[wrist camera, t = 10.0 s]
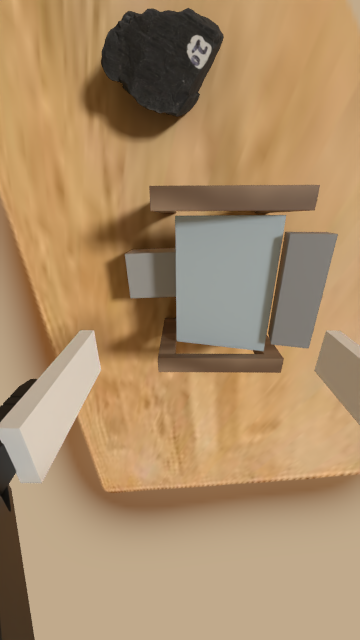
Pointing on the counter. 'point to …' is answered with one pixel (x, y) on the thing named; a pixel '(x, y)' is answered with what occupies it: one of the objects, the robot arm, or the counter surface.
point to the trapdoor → (248, 280)
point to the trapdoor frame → (226, 200)
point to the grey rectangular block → (151, 272)
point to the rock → (162, 57)
